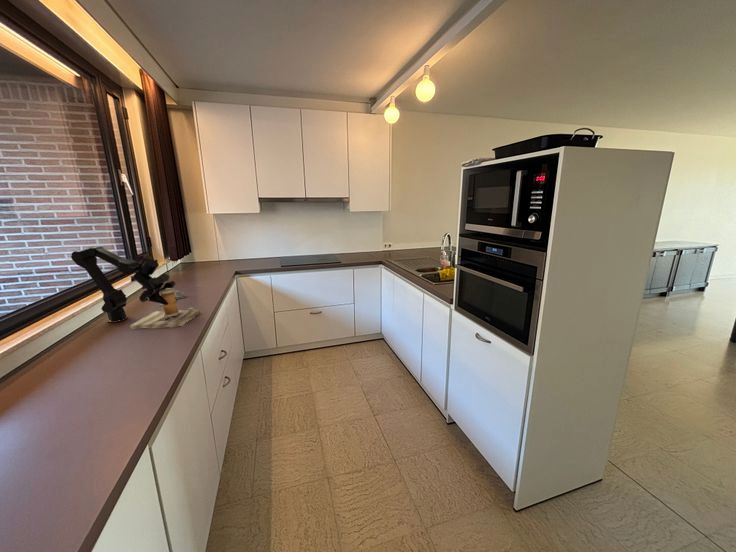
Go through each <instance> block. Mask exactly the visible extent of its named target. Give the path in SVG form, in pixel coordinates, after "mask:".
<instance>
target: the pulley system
mask: <svg viewBox="0 0 736 552" xmlns="http://www.w3.org/2000/svg"><path fill="white" fill-rule="evenodd" d="M159 294H160V293H159ZM174 294H175V297H176V298H178V300H180V299H179V298H182V299H184V298H186V294H185V293H184V291H179V289H175V291H174ZM160 296H161V294H160ZM183 297H184V298H183ZM162 305H163V304H161V303H159V307H160V306H162Z"/></svg>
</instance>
